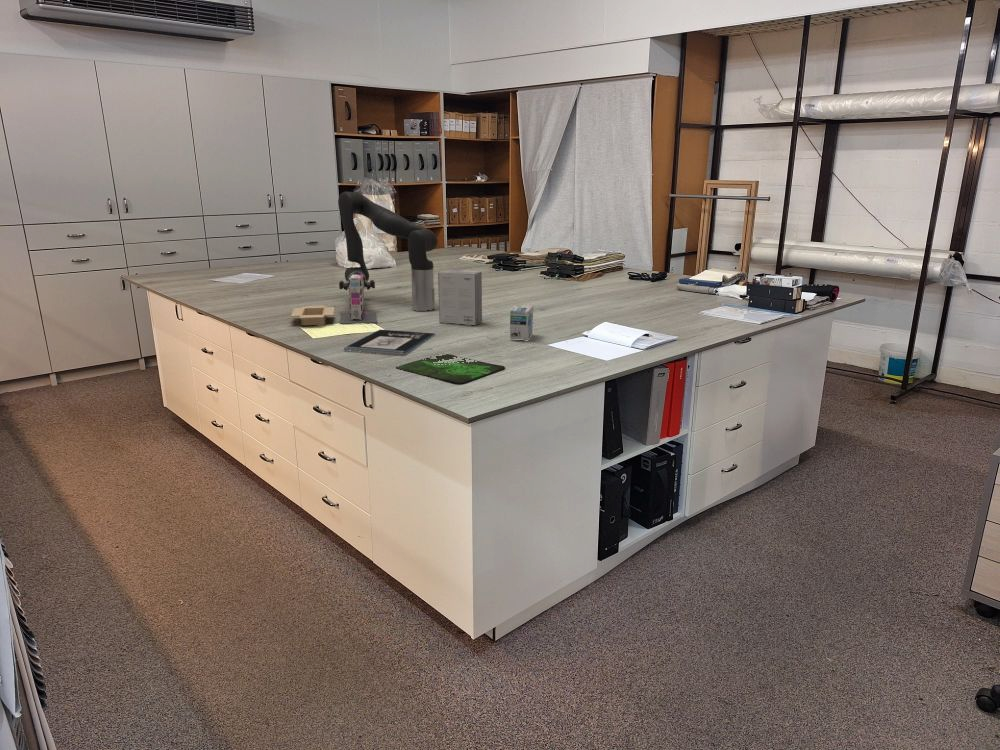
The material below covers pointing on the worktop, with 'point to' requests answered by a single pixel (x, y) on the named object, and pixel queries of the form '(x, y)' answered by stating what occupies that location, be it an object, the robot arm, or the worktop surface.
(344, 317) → the mat
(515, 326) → the light bulb box
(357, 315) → the candy bar box
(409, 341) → the sketchbook
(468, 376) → the mouse mat
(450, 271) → the hard drive box
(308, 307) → the carton
